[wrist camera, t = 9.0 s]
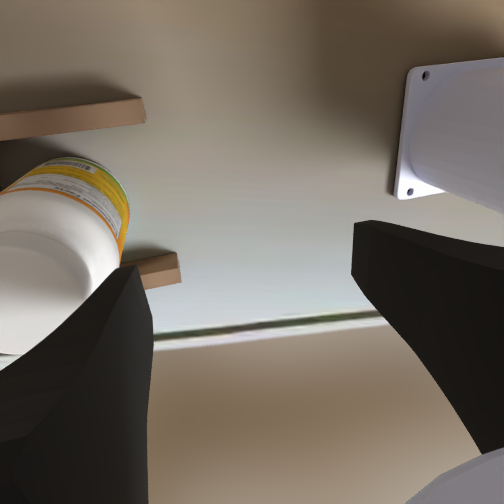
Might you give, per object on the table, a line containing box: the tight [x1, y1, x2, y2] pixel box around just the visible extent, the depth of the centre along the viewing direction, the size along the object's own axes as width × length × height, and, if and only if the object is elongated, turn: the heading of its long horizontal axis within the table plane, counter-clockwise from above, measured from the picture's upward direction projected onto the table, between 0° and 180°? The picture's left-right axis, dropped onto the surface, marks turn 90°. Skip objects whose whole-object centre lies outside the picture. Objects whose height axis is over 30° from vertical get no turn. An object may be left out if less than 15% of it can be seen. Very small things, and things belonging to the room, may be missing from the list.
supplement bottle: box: [0, 157, 130, 354], centre depth 15 cm, size 5×5×10 cm
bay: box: [0, 98, 181, 290], centre depth 18 cm, size 9×10×2 cm
